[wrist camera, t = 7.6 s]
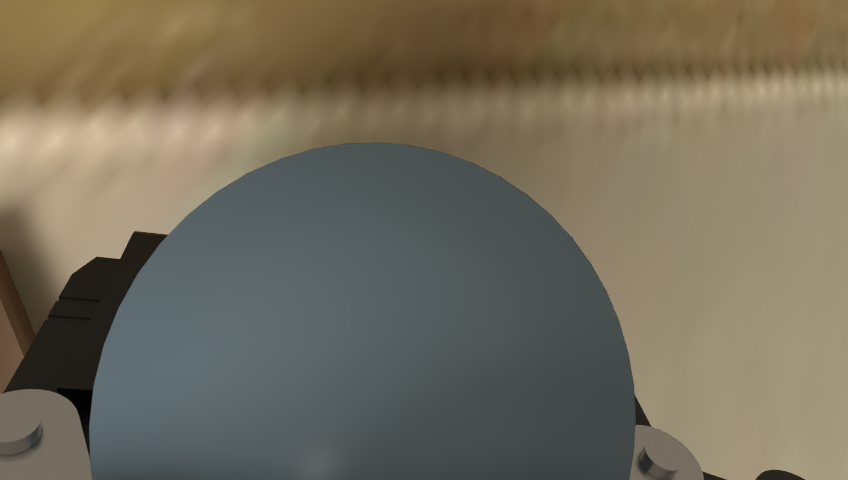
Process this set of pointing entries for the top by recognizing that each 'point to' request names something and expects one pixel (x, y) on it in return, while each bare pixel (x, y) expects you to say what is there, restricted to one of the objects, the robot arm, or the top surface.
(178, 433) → the blue-grey rounded cylinder
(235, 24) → the top surface
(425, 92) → the top surface
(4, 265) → the post dock
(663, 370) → the top surface
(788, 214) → the top surface
